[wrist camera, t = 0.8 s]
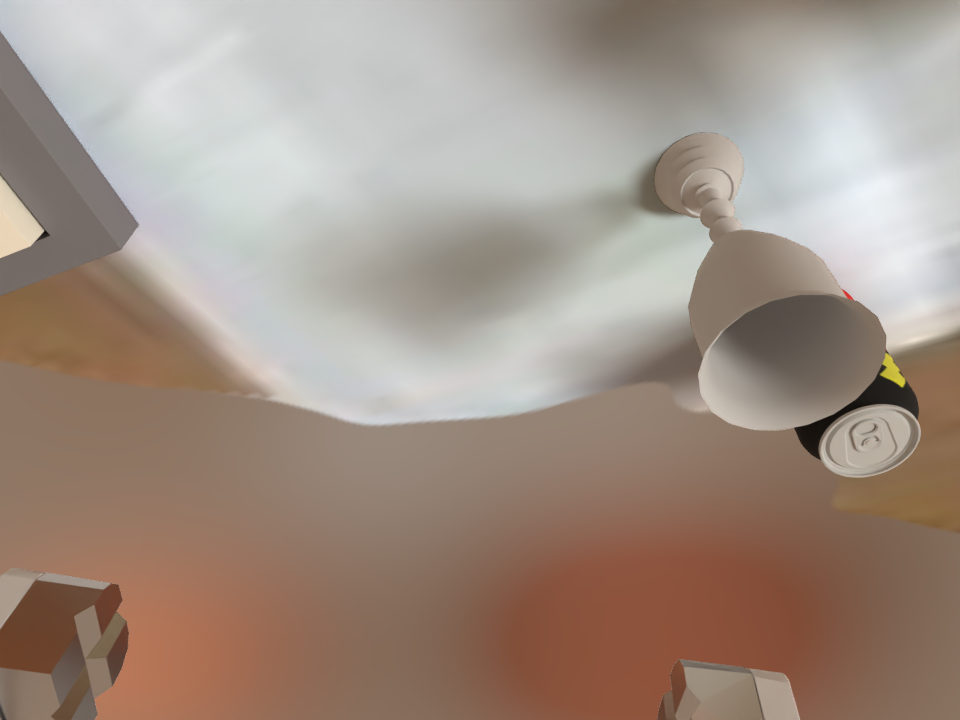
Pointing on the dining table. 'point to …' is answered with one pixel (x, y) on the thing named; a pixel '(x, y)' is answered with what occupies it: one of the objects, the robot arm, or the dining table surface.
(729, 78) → the dining table surface
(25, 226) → the cream button
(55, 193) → the button panel
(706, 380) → the chalice
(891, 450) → the beverage can
